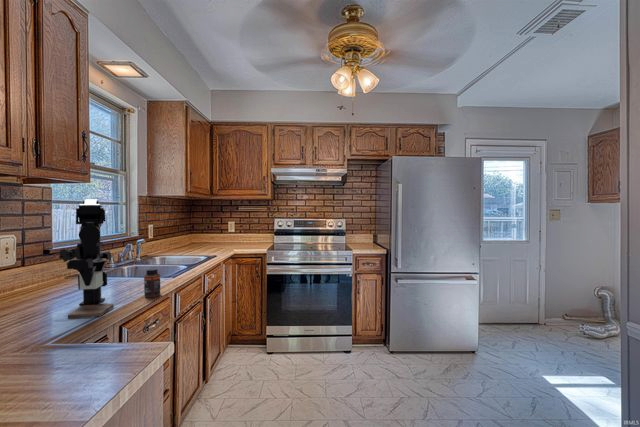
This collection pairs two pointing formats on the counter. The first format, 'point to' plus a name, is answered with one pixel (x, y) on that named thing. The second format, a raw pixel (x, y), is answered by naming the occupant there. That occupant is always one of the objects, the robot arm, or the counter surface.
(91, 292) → the robot arm
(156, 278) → the supplement bottle
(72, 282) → the counter surface
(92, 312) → the brown square tile
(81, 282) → the cube
